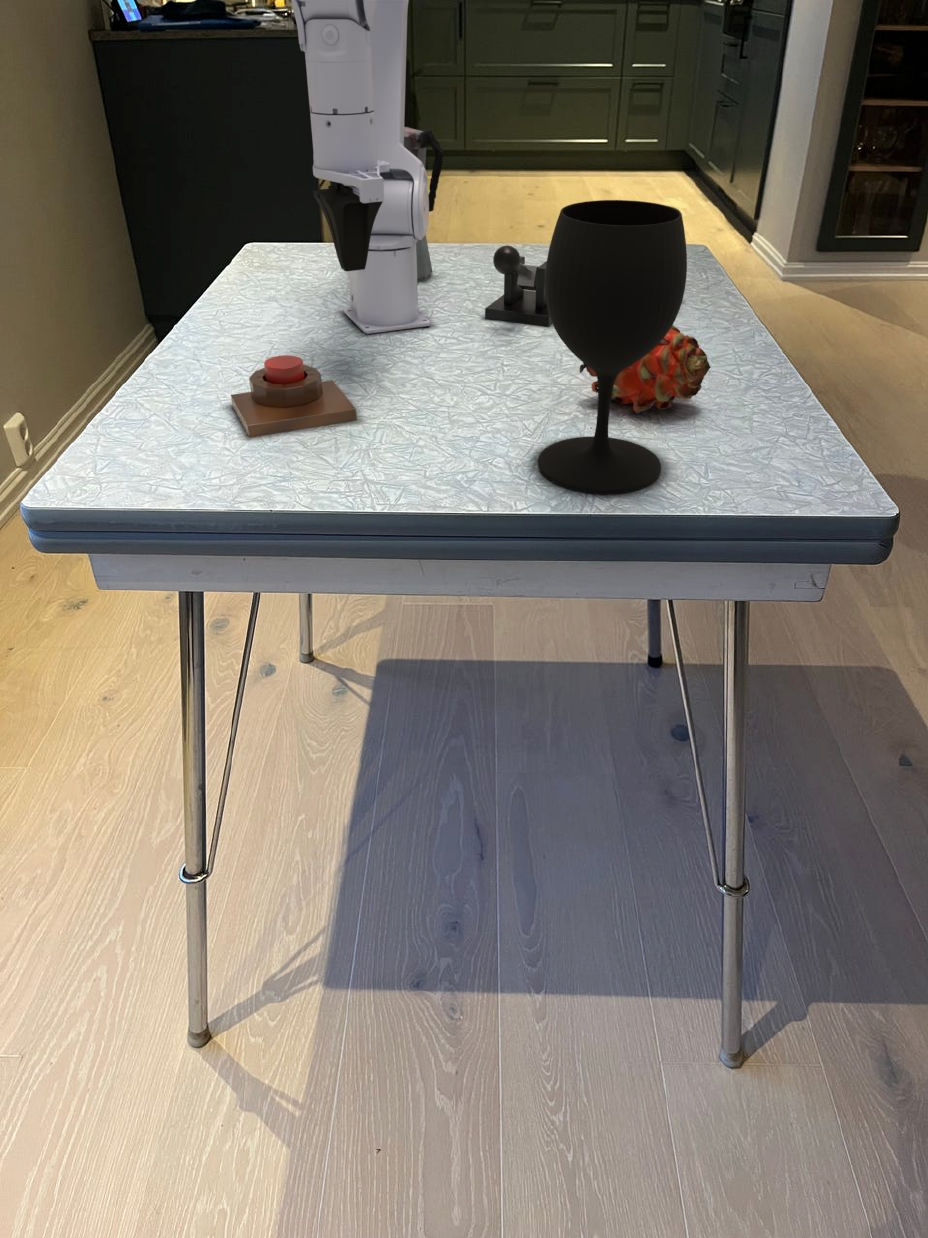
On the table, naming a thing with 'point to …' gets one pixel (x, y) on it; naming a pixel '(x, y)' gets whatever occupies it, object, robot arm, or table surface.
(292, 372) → the button
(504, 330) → the table surface
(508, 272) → the lever
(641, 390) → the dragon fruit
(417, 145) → the moka pot
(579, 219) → the wine glass
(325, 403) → the button block
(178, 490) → the table surface
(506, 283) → the bracket
